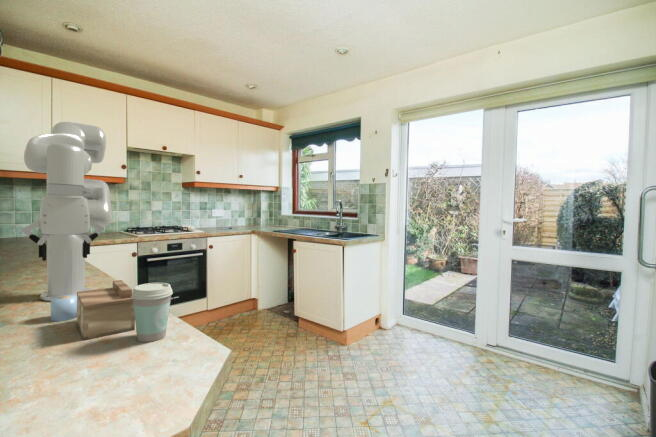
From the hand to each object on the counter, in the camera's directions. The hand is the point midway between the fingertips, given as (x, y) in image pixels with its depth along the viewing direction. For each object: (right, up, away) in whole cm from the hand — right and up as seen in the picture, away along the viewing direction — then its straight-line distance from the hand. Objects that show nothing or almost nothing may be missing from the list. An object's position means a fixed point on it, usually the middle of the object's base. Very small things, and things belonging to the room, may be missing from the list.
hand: (65, 258), depth 83 cm
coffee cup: (+28, -18, -9) cm, 34 cm away
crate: (+13, -17, -4) cm, 22 cm away
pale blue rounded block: (-1, -16, +1) cm, 16 cm away
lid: (+14, -10, -4) cm, 17 cm away
